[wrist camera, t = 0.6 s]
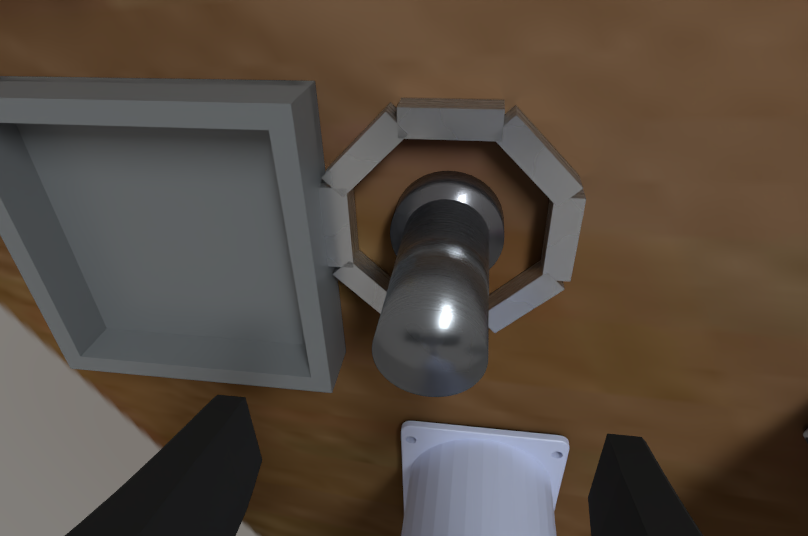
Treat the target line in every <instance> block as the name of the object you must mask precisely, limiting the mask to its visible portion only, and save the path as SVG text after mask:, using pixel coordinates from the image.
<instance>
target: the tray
mask: <svg viewBox="0 0 808 536" xmlns="http://www.w3.org/2000/svg"><path fill="white" fill-rule="evenodd" d="M324 173H325V164H324V155H323V147H322V138H321V129H320V120H319V112H318V103H317V94H316V85H315V81H286V80H219V79H152V78H85V77H17V76H0V235H1V237H2V239H3V241H4V243H5V244H6V246H7V248H8V250H9V252H10V254H11V256H12V258H13V260H14V262H15V263H16V265H17V267H18V269H19V271H20V273H21V275H22V277H23V279H24V281H25V282H26V284H27V286H28V288H29V290H30V292H31V294H32V296H33V298H34V300H35V301H36V303H37V305H38V307H39V309H40V311H41V313H42V315H43V317H44V319H45V320H46V322H47V324H48V326H49V328H50V330H51V332H52V334H53V336H54V338H55V339H56V341H57V343H58V345H59V347H60V349H61V351H62V353H63V355H64V357H65V359H66V360H67V362H68V364H69V366H70V368H72V369H83V370H93V371H104V372H115V373H125V374H136V375H146V376H157V377H168V378H178V379H189V380H200V381H210V382H221V383H232V384H242V385H253V386H264V387H274V388H285V389H296V390H306V391H317V392H328V393H332V392H333V389H334V386H335V383H336V380H337V377H338V374H339V371H340V368H341V365H342V362H343V359H344V356H345V353H346V348H345V339H344V330H343V322H342V313H341V304H340V295H339V287H338V278H336V277H335V276H334V275H333V273H334V271H335V269H336V267H329V266H328V262H327V254H326V246H325V238H324V230H323V222H322V213H321V205H320V197H319V189H318V187H319V186H320V184H321V183H322V181H323V179H322V176H323V175H324Z"/></svg>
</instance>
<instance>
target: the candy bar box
mask: <svg viewBox="0 0 808 536" xmlns="http://www.w3.org/2000/svg"><path fill="white" fill-rule="evenodd" d="M803 436H804V438H805V440H806V441H807V443H808V428H807V429H806V430H805V431H804V433H803Z"/></svg>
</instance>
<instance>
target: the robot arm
mask: <svg viewBox="0 0 808 536" xmlns="http://www.w3.org/2000/svg"><path fill="white" fill-rule="evenodd" d="M401 446H402V472H403V497H404V519H403V526H402V533H401V536H556V527H555V517H554V510H555V506H556V502H557V497H558V493H559V489H560V485H561V481H562V477H563V473H564V469H565V465H566V461H567V456H568V452H569V441H568V439H567V438H565V437H564V436H560V435H552V434H542V433H532V432H522V431H512V430H501V429H491V428H481V427H471V426H461V425H451V424H441V423H431V422H421V421H406V422H404V423H403V424H402V428H401ZM261 462H262V457H261V454H260V450H259V446H258V442H257V439H256V435H255V431H254V428H253V424H252V420H251V417H250V413H249V409H248V405H247V402H246V398H245V397H235V396H225V395H217V396H216V397H214V398H213V399H212V400H211V401H210V402H209V403H208V404H207V405H206V406H205V407H204V408H203V409H202V410H201V411H200V412H199V413H198V414H197V415H196V416H195V417H194V418H193V419H192V420H191V421H190V422H189V423H188V424H187V425H186V426H185V427H184V428H183V429H182V430H181V431H180V432H178V433H177V434H176V435H175V436H174V437H173V438H172V439H171V440H170V441H169V442H168V443H167V444H166V445H165V446H164V447H163V448H162V449H161V450H160V451H159V452H158V453H157V454H156V455H155V456H154V457H153V458H152V459H150V460H149V461H148V462H147V463H146V464H145V465H144V466H143V467H142V468H141V469H140V470H139V471H138V472H137V473H136V474H135V475H133V476H132V477H131V478H130V479H129V480H128V481H127V482H126V483H125V484H124V485H123V486H122V487H120V488H119V489H118V490H117V491H116V492H115V493H114V494H113V495H111V496H110V497H109V498H108V499H107V500H106V501H105V502H103V503H102V504H101V505H100V506H99V507H98V508H97V509H95V510H94V511H93V512H92V513H91V514H90V515H89V516H87V517H86V518H85V519H84V520H83V521H82V522H81V523H79V524H78V525H77V526H76V527H75V528H73V529H72V530H71V531H70V532H69V533H67V534H66V535H65V536H236V533H237V531H238V529H239V526H240V524H241V522H242V519H243V517H244V515H245V512H246V510H247V507H248V504H249V501H250V498H251V495H252V492H253V489H254V486H255V482H256V479H257V476H258V472H259V469H260V466H261ZM588 502H589V514H590V526H591V536H703V535H702V533H701V532H700V530H699V529H698V527H697V525H696V524H695V522H694V521H693V519H692V518H691V516H690V515H689V513H688V511H687V510H686V508H685V507H684V505H683V503H682V502H681V500H680V499H679V497H678V495H677V494H676V492H675V491H674V489H673V487H672V486H671V484H670V482H669V481H668V479H667V477H666V476H665V474H664V472H663V471H662V469H661V467H660V466H659V464H658V462H657V461H656V459H655V457H654V455H653V454H652V452H651V450H650V448H649V447H648V445H647V443H646V442H645V441H644V439H643V438H642V437H636V436H626V435H616V434H607V437H606V440H605V443H604V446H603V450H602V453H601V456H600V460H599V463H598V466H597V470H596V473H595V476H594V480H593V483H592V486H591V489H590V493H589V496H588Z"/></svg>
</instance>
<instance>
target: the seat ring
mask: <svg viewBox="0 0 808 536" xmlns="http://www.w3.org/2000/svg"><path fill="white" fill-rule="evenodd" d="M504 113H505V104H504V100H482V99H429V98H401V100H400V102H399V104H398V106H397V108H396V107H395V106H394V105H393V104H392V103H391V102H390V103H389V104H388V106H387V107H386V108H385V109H384V110H383V111H382V112H381V113H380V114H379V115H378V116H377V117H376V118H375V119H374V120H373V121H372V122H371V123H370V124H369V125H368V126H367V127H366V128H365V129H364V130H363V131H362V133H361V134H360V135H359V136H358V137H357V138H356V139H355V140H354V141H353V142H352V143H351V144H350V145H349V146H348V147H347V148H346V149H345V150H344V151H343V152H342V153H341V154H340V155H339V156H338V157H337V158H336V160H335V161H334V162H333V163H332V164H331V165H330V166H329V167H328V168H327V170H326V172H325V173H324V175H323V176H322V179H323V181H322V183H321V184H320V186H319V187H318V189H319V197H320V205H321V213H322V222H323V230H324V238H325V246H326V254H327V262H328V266H329V267H336V269H335V271H334V273H333V275H334V276H335V277H336V278H338V279H339V280H340V281H341V282H343V283H344V284H345V285H346V286H347V287H349V288H350V289H351V290H352V291H353V292H355V293H356V294H357V295H358V296H359V297H361V298H362V299H363V300H364V301H366V302H367V303H368V304H369V305H370V306H372V307H373V308H374V309H375V310H376V311H378V312H379V313H380V314H381V311H382V307H383V304H384V300H385V297H386V293H387V289H388V286H389V282H390V279H391V277H390V276H389V275H388V274H386V273H385V272H384V271H383V270H382V269H381V268H379V267H378V266H377V265H376V264H375V263H374V262H372V261H371V260H370V259H369V258H368V257H367V256H366V255H364V254H363V253H362V252H361V251H360V250H359V246H358V234H357V222H356V210H355V198H354V187H355V186H356V185H357V184H358V183H359V182H360V181H361V180H362V179H363V178H364V177H365V176H366V175H367V174H368V173H369V172H370V171H371V170H372V169H373V168H374V167H375V166H376V165H377V164H378V163H379V162H380V161H381V160H382V159H383V158H384V157H385V156H387V155H388V154H389V153H390V152H391V151H392V150H393V149H394V148H395V147H396V146H397V145H398V144H399V143H400V142H401V141H402V140H403V139H431V140H466V141H496V142H497V143H498V144H499V145H500V146H501V148H502V149H503V150H504V151H505V152H506V153H507V154H508V155H509V156H510V157H511V158H512V159H513V160H514V161H515V162H516V163H517V165H518V166H519V167H520V168H521V169H522V170H523V171H524V172H525V173H526V174H527V175H528V176H529V177H530V178H531V179H532V180H533V181H534V183H535V184H536V185H537V186H538V187H539V188H540V189H541V190H542V191H543V192H544V193H545V194H546V195H547V196H548V197H549V198H550V200H549V207H548V214H547V220H546V227H545V234H544V241H543V247H542V254H541V260H540V261H539V262H537V263H536V264H534V265H533V266H531V267H530V268H528V269H527V270H525V271H524V272H522V273H521V274H519V275H518V276H516V277H515V278H513V279H512V280H511V281H509V282H508V283H506V284H505V285H503V286H502V287H500V288H499V289H497V290H496V291H494V292H493V293H491V294H490V295H489V320H488V327H489V328H490V329H491V330H492V331H493V332H495V333H496V332H497V331H499V330H500V329H502V328H504V327H505V326H507V325H508V324H510V323H512V322H513V321H515V320H516V319H518V318H520V317H521V316H523V315H524V314H526V313H528V312H529V311H531V310H532V309H534V308H536V307H537V306H539V305H540V304H542V303H544V302H545V301H547V300H548V299H550V298H551V297H553V296H555V295H556V294H558V293H559V292H561V291H563V290H564V284H563V281H570V280H571V275H572V270H573V265H574V260H575V254H576V249H577V244H578V239H579V233H580V228H581V223H582V218H583V213H584V207H585V202H586V197H585V194H584V191H583V186H582V183H581V180H580V177H579V175H578V174H577V173H576V172H575V170H574V169H573V168H572V167H571V166H570V165H569V164H568V163H567V162H566V160H565V159H564V158H563V157H562V156H561V155H560V154H559V153H558V152H557V150H556V149H555V148H554V147H553V146H552V145H551V144H550V143H549V142H548V140H547V139H546V138H545V137H544V136H543V135H542V134H541V133H540V132H539V130H538V129H537V128H536V127H535V126H534V125H533V124H532V123H531V122H530V120H529V119H528V118H527V117H526V116H525V115H524V114H523V113H522V112H521V110H520V109H519V108H518V107H517V106H516V105H515V106H514V107H513V108H511V109H510V110H509V111H508V112H507V113H506V114H505V115H504Z"/></svg>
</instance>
